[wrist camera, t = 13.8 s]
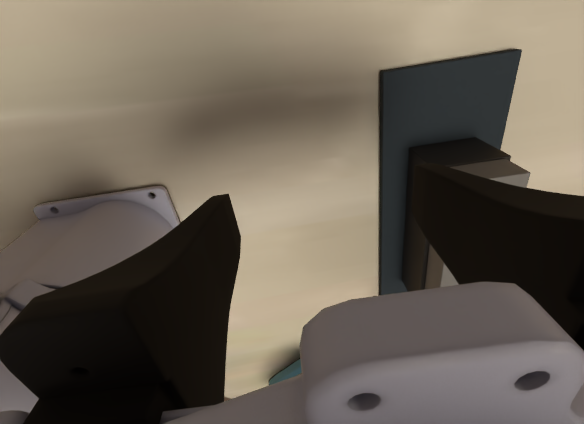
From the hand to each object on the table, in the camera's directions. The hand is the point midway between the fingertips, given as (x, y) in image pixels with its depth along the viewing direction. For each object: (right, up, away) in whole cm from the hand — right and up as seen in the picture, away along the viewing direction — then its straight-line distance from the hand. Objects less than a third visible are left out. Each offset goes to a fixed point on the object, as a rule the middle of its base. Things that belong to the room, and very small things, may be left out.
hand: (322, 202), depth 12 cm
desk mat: (+10, -1, +12) cm, 15 cm away
